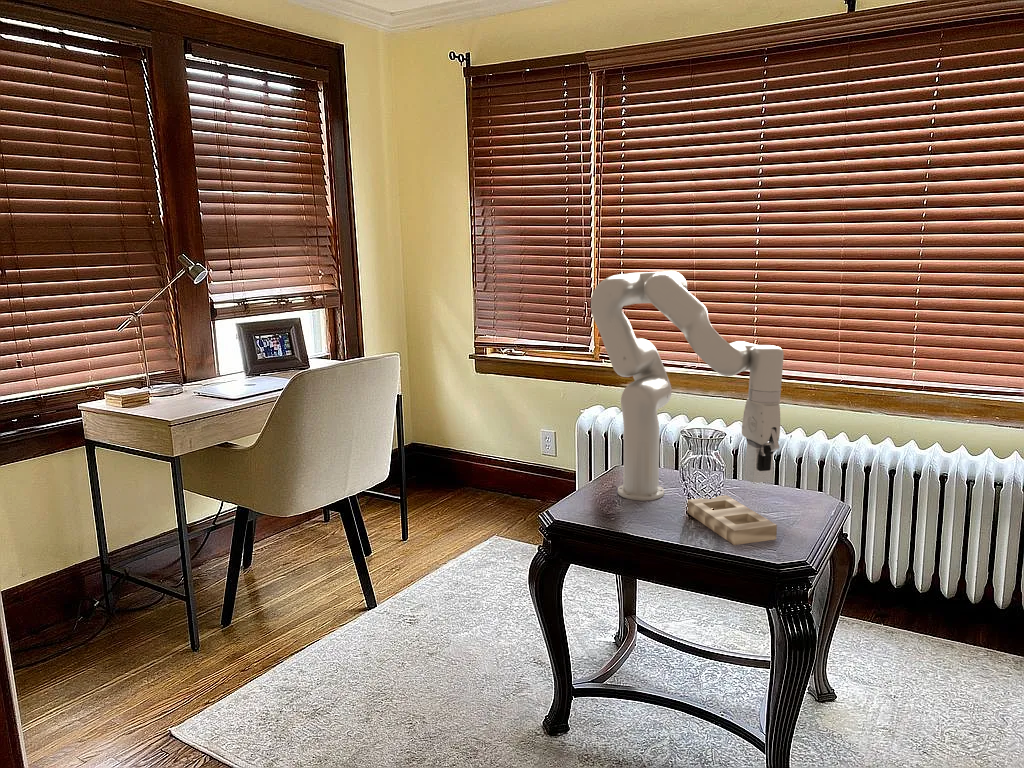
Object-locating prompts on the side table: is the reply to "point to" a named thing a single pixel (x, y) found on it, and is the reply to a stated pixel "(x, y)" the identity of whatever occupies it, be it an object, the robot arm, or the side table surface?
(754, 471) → the white rectangular block
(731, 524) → the tan cinder block
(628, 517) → the side table surface
